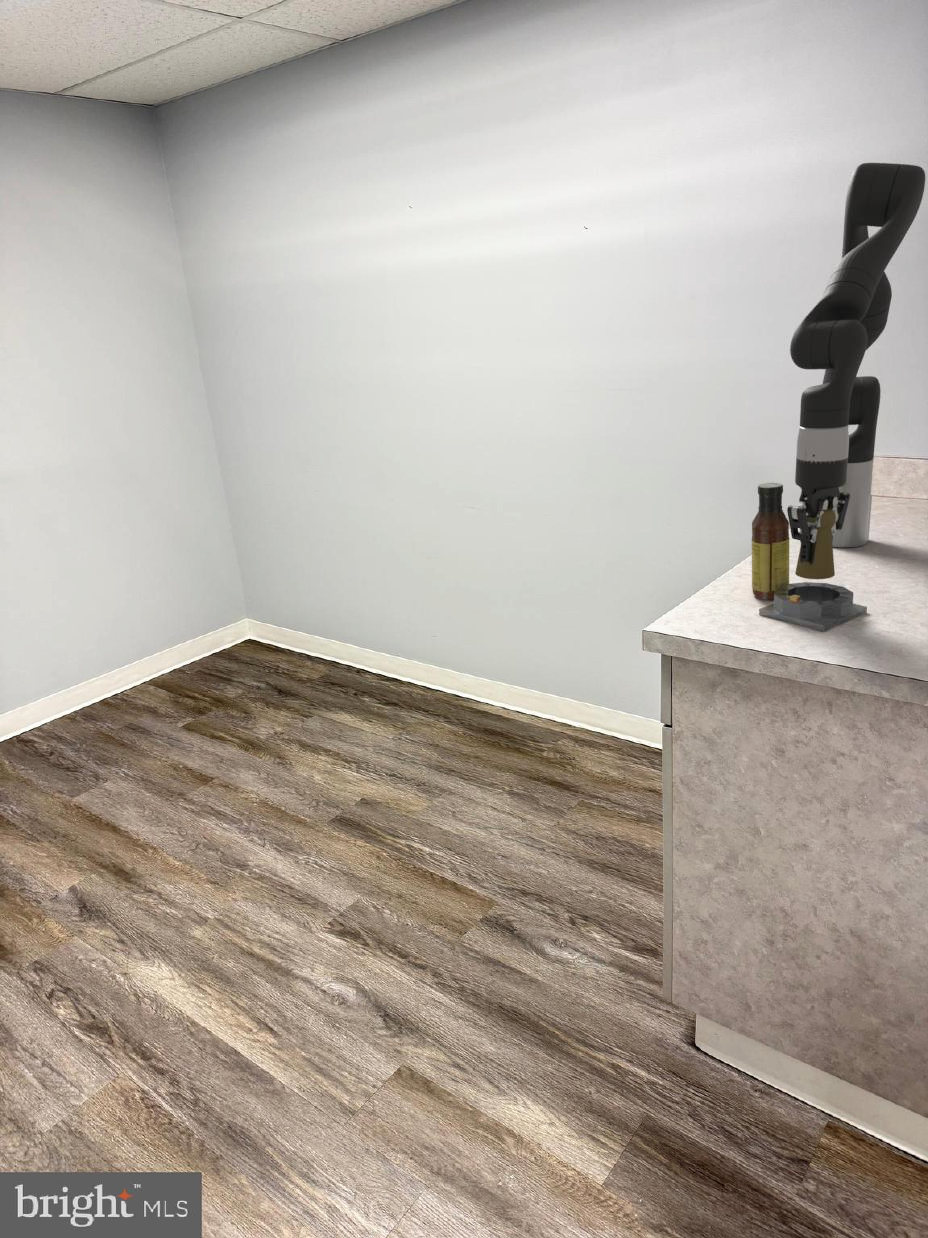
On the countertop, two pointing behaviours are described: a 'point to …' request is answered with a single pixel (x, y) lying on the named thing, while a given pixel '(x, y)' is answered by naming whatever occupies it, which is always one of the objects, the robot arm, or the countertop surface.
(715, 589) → the countertop surface
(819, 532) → the cork
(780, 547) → the sauce bottle
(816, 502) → the robot arm
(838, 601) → the hub
